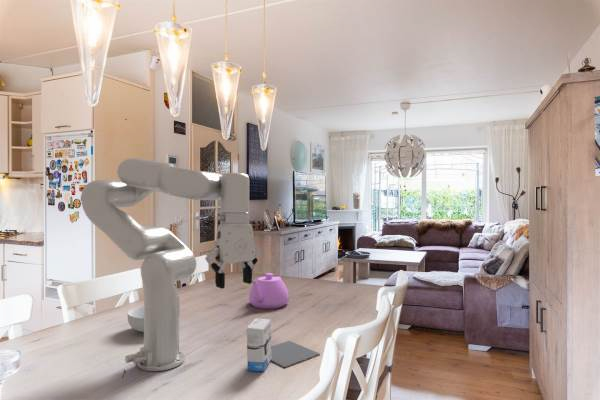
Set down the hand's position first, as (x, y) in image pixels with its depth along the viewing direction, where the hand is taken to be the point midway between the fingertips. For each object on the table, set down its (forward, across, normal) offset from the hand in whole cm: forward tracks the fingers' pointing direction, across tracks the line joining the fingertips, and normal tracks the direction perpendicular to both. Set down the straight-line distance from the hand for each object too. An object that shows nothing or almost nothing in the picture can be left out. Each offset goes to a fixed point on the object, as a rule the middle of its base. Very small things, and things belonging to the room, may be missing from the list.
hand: (234, 284), depth 103 cm
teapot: (+24, +49, +48) cm, 73 cm away
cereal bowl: (+24, -2, +48) cm, 54 cm away
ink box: (+24, +9, 0) cm, 26 cm away
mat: (+24, +20, +1) cm, 31 cm away
